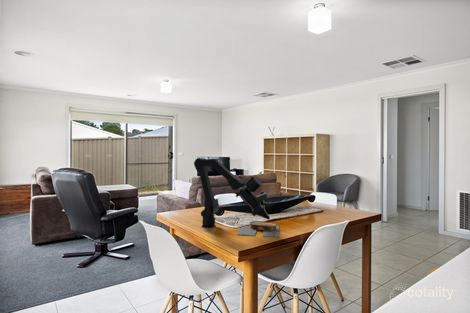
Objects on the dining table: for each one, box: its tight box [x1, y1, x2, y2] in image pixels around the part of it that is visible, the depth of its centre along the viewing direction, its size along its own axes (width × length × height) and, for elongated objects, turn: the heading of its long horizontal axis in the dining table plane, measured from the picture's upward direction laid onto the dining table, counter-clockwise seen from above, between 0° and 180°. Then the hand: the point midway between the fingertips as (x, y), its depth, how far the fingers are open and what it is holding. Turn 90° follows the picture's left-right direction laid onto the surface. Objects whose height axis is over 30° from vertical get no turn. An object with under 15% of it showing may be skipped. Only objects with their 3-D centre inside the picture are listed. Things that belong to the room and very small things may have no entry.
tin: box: [249, 220, 278, 231], centre depth 156 cm, size 15×3×8 cm
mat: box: [237, 225, 280, 238], centre depth 153 cm, size 21×20×1 cm
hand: (269, 218), depth 150 cm, fingers closed
